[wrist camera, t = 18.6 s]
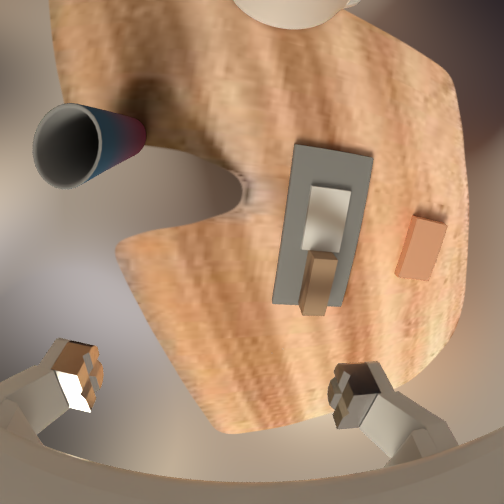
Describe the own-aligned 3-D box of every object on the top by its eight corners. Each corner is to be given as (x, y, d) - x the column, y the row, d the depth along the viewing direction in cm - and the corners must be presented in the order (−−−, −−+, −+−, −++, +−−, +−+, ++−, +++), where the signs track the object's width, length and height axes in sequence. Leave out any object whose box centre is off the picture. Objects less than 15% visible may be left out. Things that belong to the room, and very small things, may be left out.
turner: (325, 303, 42) (331, 316, 39) (290, 302, 42) (294, 315, 39) (349, 190, 36) (359, 196, 33) (310, 185, 36) (317, 190, 33)
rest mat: (294, 144, 35) (295, 144, 34) (370, 157, 35) (373, 157, 35) (271, 300, 42) (272, 303, 42) (339, 303, 43) (340, 306, 43)
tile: (393, 271, 42) (411, 214, 39) (422, 275, 43) (441, 221, 40) (398, 277, 41) (417, 218, 37) (428, 281, 41) (447, 225, 38)
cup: (106, 108, 31) (37, 103, 18) (157, 112, 32) (108, 104, 18) (99, 161, 34) (30, 185, 20) (149, 167, 35) (97, 194, 21)
